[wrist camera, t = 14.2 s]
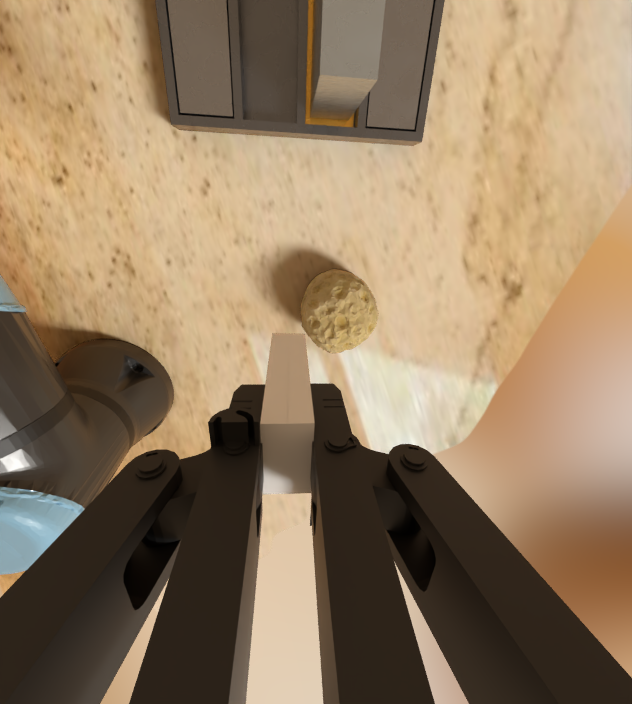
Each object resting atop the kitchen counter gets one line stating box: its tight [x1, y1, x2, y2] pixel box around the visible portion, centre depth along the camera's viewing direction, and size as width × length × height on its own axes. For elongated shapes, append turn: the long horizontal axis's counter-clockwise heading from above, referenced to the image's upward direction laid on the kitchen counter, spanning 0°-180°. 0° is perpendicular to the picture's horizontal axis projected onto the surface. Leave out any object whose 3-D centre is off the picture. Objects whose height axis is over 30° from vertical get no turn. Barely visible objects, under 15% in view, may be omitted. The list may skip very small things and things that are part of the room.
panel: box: [310, 0, 386, 121], centre depth 25 cm, size 4×10×12 cm, turn 177°
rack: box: [155, 0, 445, 146], centre depth 29 cm, size 25×14×3 cm, turn 87°
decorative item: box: [300, 269, 379, 353], centre depth 39 cm, size 10×10×10 cm
